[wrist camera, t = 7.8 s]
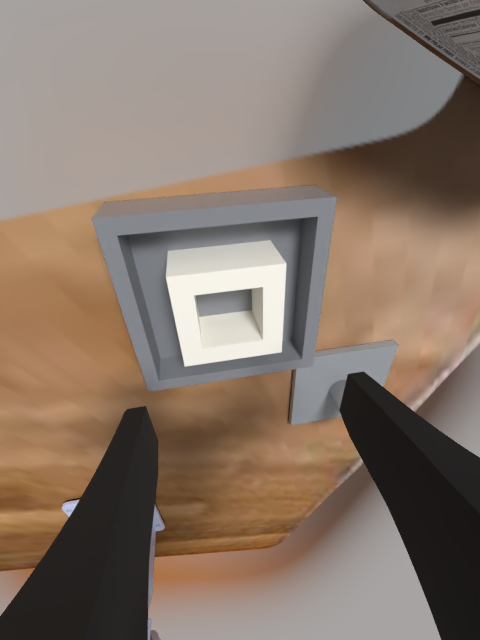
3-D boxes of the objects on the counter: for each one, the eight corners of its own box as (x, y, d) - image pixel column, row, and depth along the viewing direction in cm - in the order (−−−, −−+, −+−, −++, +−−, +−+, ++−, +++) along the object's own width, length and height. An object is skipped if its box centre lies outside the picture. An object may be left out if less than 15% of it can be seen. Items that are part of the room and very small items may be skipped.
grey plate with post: (371, 405, 28) (404, 456, 24) (288, 419, 27) (308, 475, 23) (393, 339, 23) (439, 389, 19) (294, 354, 22) (320, 409, 18)
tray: (299, 341, 22) (312, 366, 20) (151, 362, 20) (148, 391, 18) (315, 184, 15) (336, 196, 13) (103, 202, 14) (91, 218, 12)
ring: (270, 240, 16) (286, 263, 14) (269, 321, 19) (281, 352, 17) (167, 250, 16) (165, 277, 13) (183, 333, 19) (184, 366, 16)
